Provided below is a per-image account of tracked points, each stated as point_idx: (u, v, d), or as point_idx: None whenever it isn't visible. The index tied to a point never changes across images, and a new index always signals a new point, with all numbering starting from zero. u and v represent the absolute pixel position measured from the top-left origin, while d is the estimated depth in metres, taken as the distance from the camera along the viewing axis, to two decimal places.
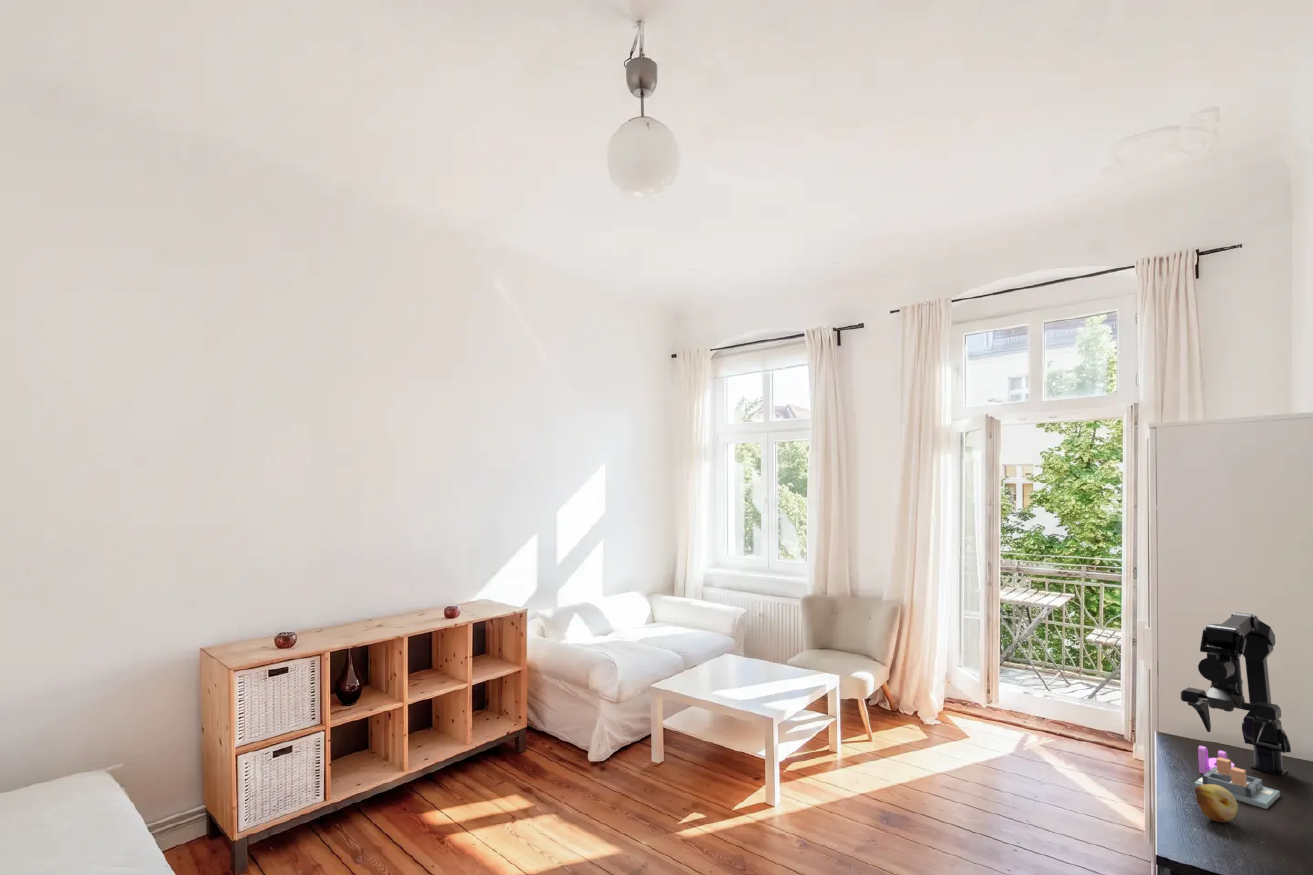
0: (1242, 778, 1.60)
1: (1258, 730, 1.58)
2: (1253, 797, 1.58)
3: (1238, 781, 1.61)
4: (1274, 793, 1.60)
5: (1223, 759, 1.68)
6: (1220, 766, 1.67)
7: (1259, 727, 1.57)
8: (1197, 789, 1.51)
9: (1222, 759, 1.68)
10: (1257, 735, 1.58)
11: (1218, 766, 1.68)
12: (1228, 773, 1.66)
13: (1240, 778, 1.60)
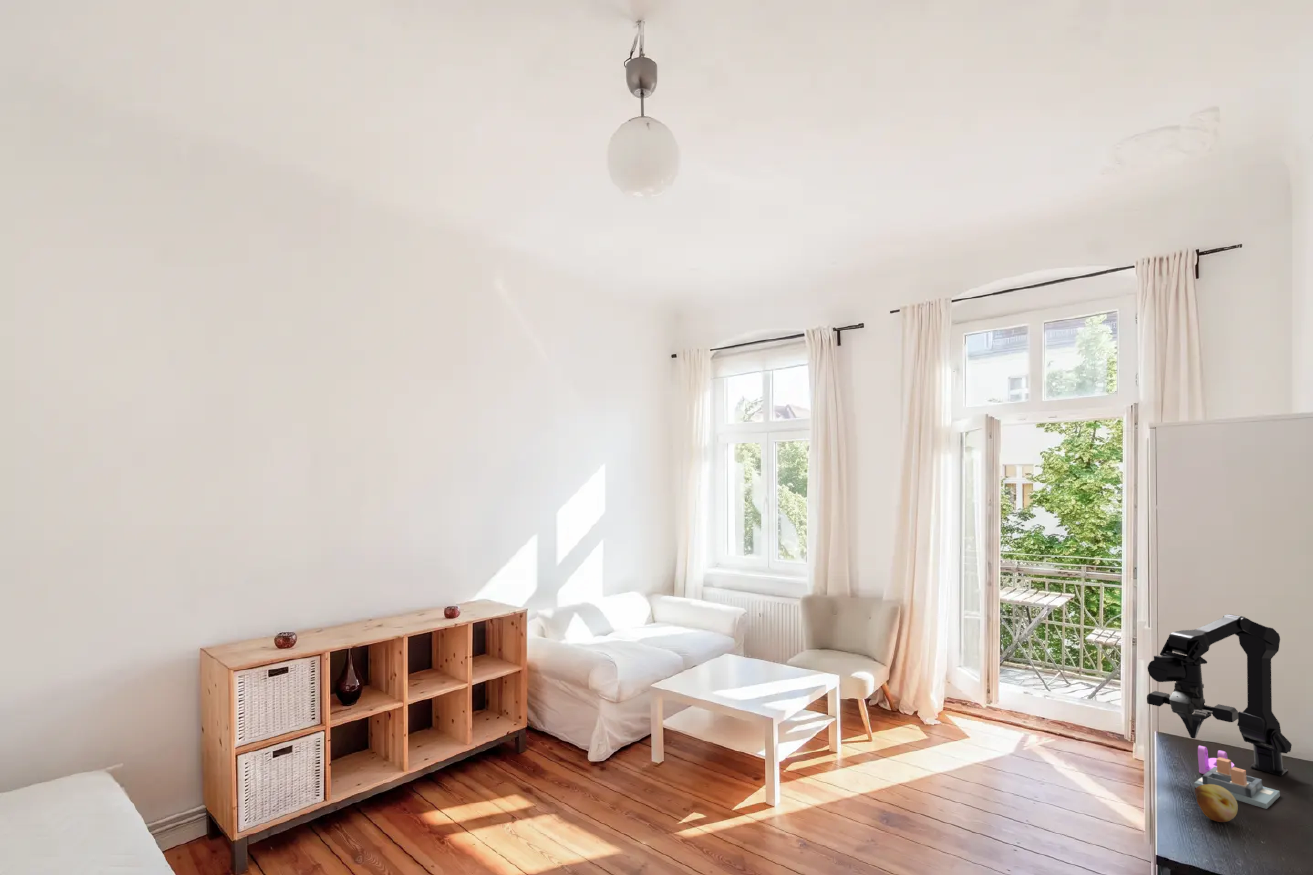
0: (1242, 778, 1.60)
1: (1196, 726, 1.72)
2: (1253, 797, 1.58)
3: (1238, 781, 1.61)
4: (1274, 793, 1.60)
5: (1223, 759, 1.68)
6: (1220, 766, 1.67)
7: (1197, 723, 1.72)
8: (1197, 789, 1.51)
9: (1222, 759, 1.68)
10: (1195, 731, 1.72)
11: (1218, 766, 1.68)
12: (1228, 773, 1.66)
13: (1240, 778, 1.60)
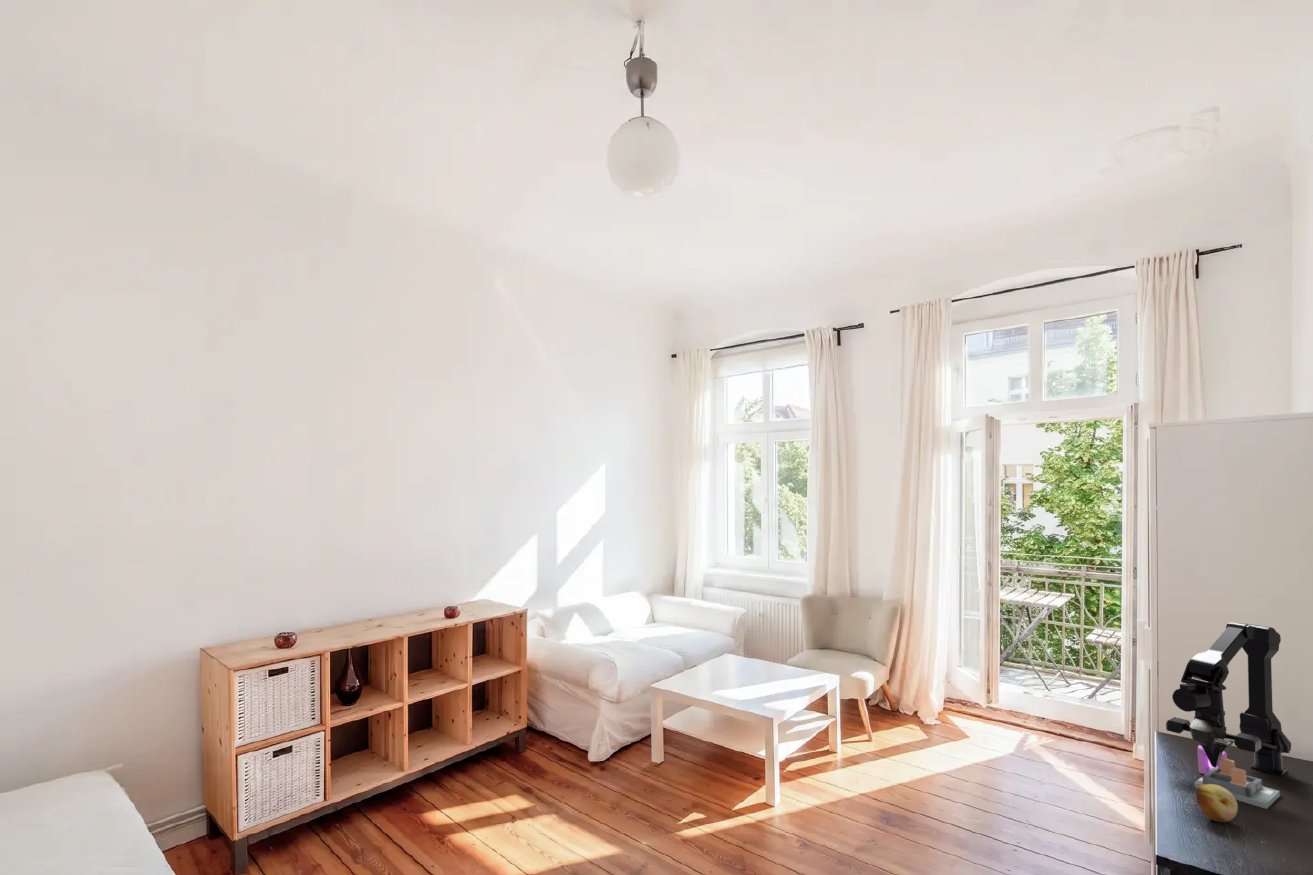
0: (1242, 778, 1.60)
1: (1217, 755, 1.68)
2: (1253, 797, 1.58)
3: (1238, 781, 1.61)
4: (1274, 793, 1.60)
5: (1227, 760, 1.67)
6: (1224, 767, 1.67)
7: (1218, 752, 1.68)
8: (1197, 789, 1.51)
9: (1226, 760, 1.67)
10: (1216, 759, 1.68)
11: (1222, 767, 1.67)
12: None
13: (1240, 778, 1.60)
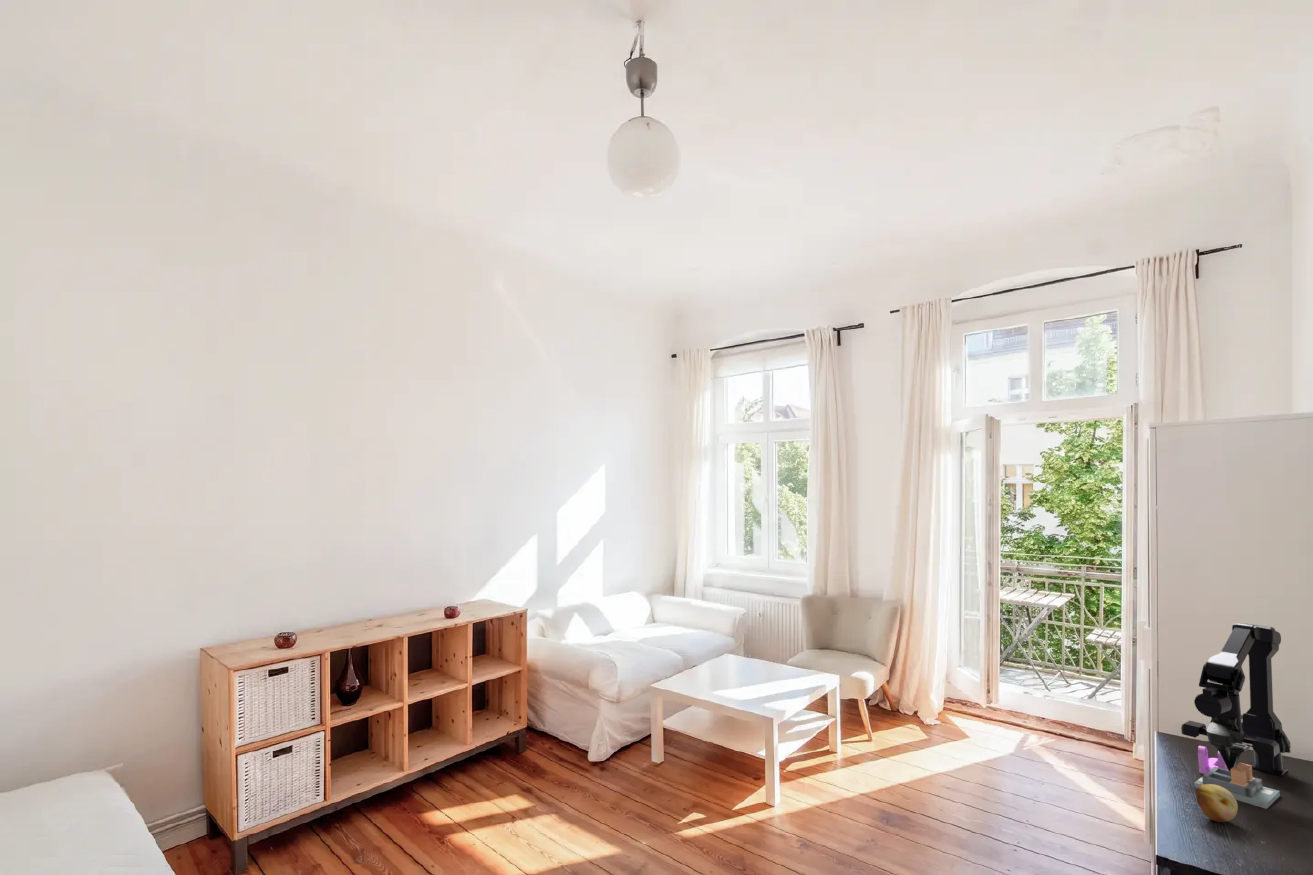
0: (1242, 778, 1.60)
1: (1234, 759, 1.65)
2: (1253, 797, 1.58)
3: (1238, 781, 1.61)
4: (1274, 793, 1.60)
5: (1244, 764, 1.64)
6: None
7: (1235, 756, 1.65)
8: (1197, 789, 1.51)
9: (1243, 764, 1.64)
10: (1233, 764, 1.66)
11: None
12: (1249, 779, 1.63)
13: (1240, 778, 1.60)
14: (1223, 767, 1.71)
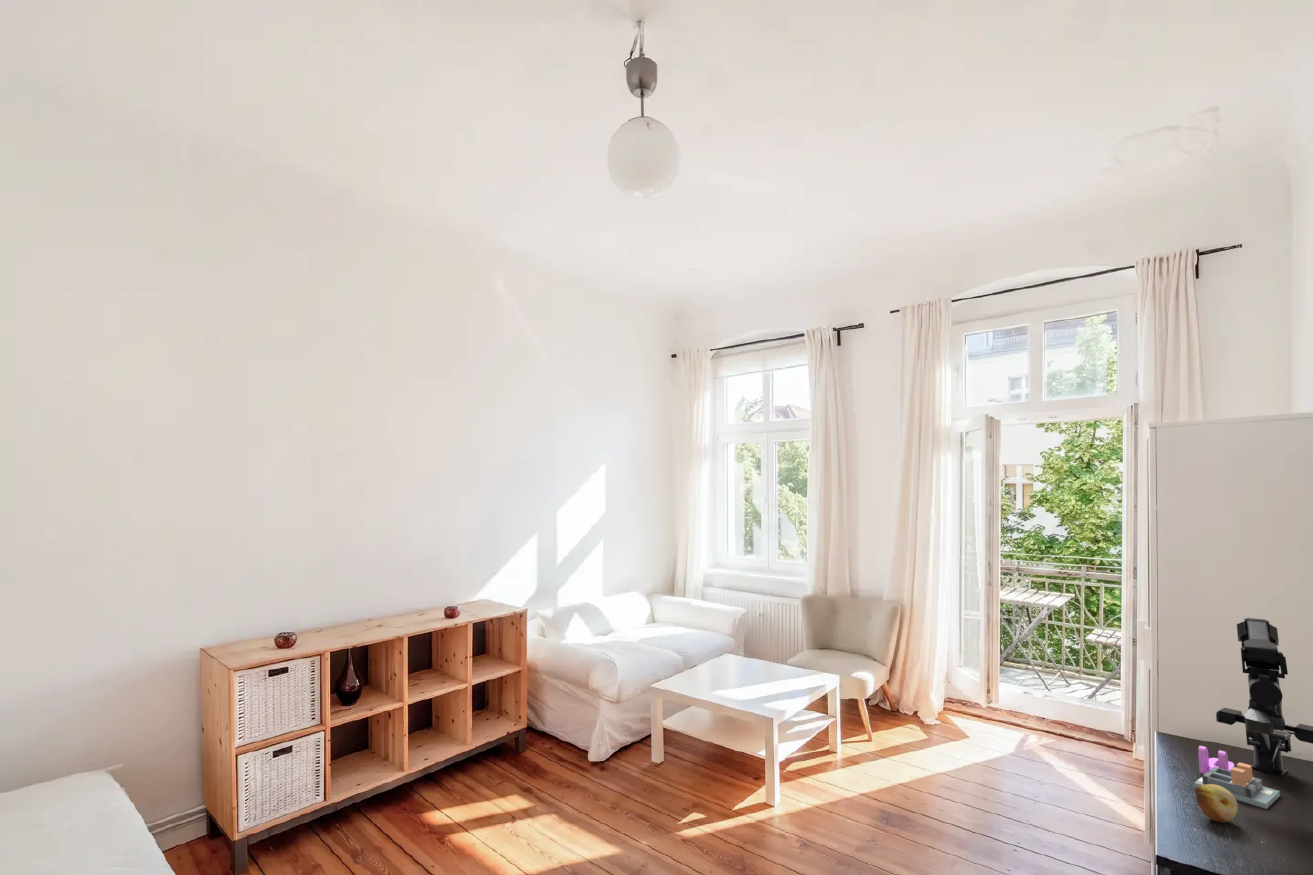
0: (1242, 778, 1.60)
1: (1274, 748, 1.55)
2: (1253, 797, 1.58)
3: (1238, 781, 1.61)
4: (1274, 793, 1.60)
5: (1244, 764, 1.64)
6: None
7: (1275, 745, 1.55)
8: (1197, 789, 1.51)
9: (1243, 764, 1.64)
10: (1273, 753, 1.56)
11: None
12: (1249, 779, 1.63)
13: (1240, 778, 1.60)
14: (1224, 767, 1.71)
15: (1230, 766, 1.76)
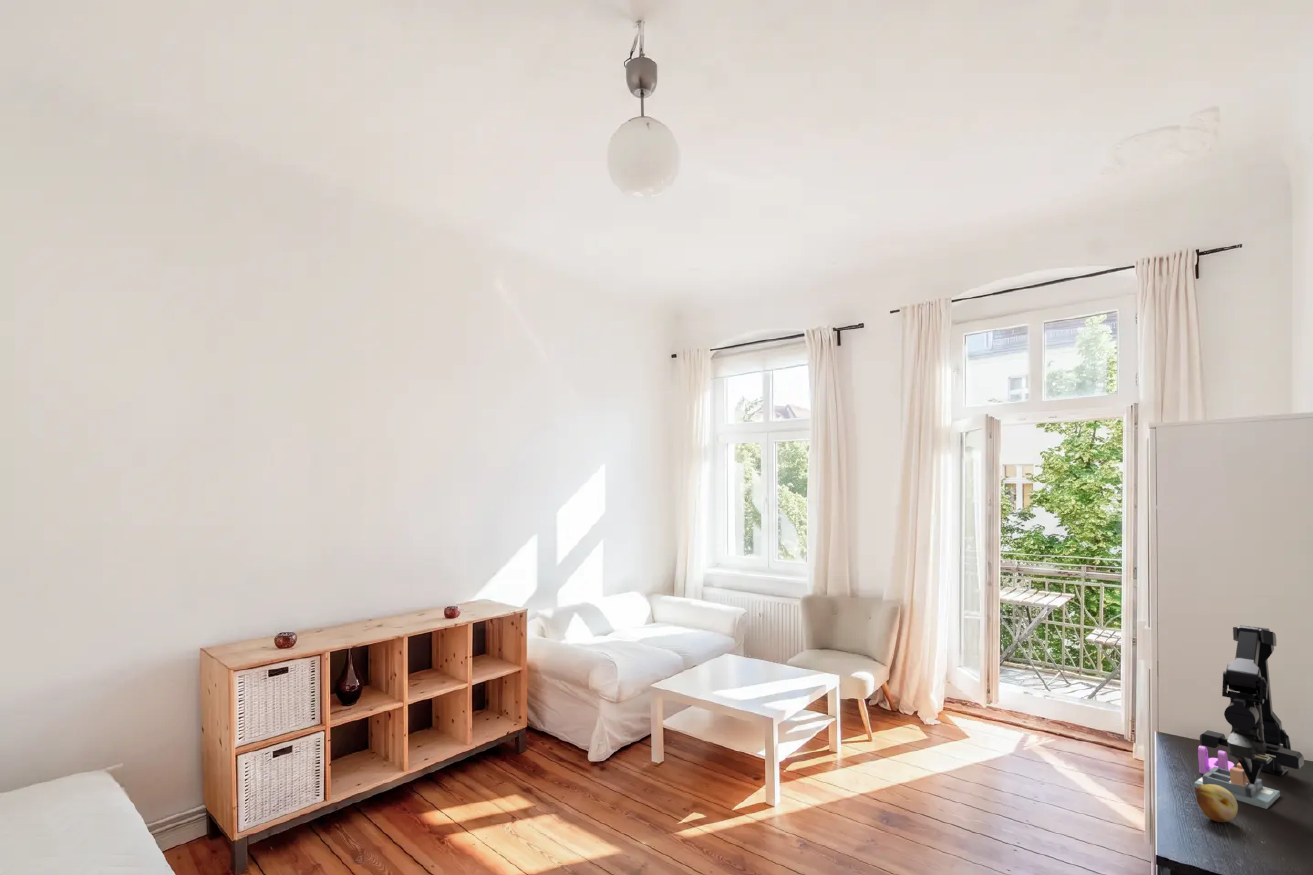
0: (1241, 778, 1.60)
1: (1256, 771, 1.58)
2: (1253, 797, 1.58)
3: (1237, 781, 1.61)
4: (1274, 793, 1.60)
5: None
6: None
7: (1257, 768, 1.58)
8: (1197, 789, 1.51)
9: None
10: (1255, 776, 1.58)
11: None
12: None
13: (1239, 778, 1.60)
14: (1223, 767, 1.71)
15: (1230, 766, 1.76)
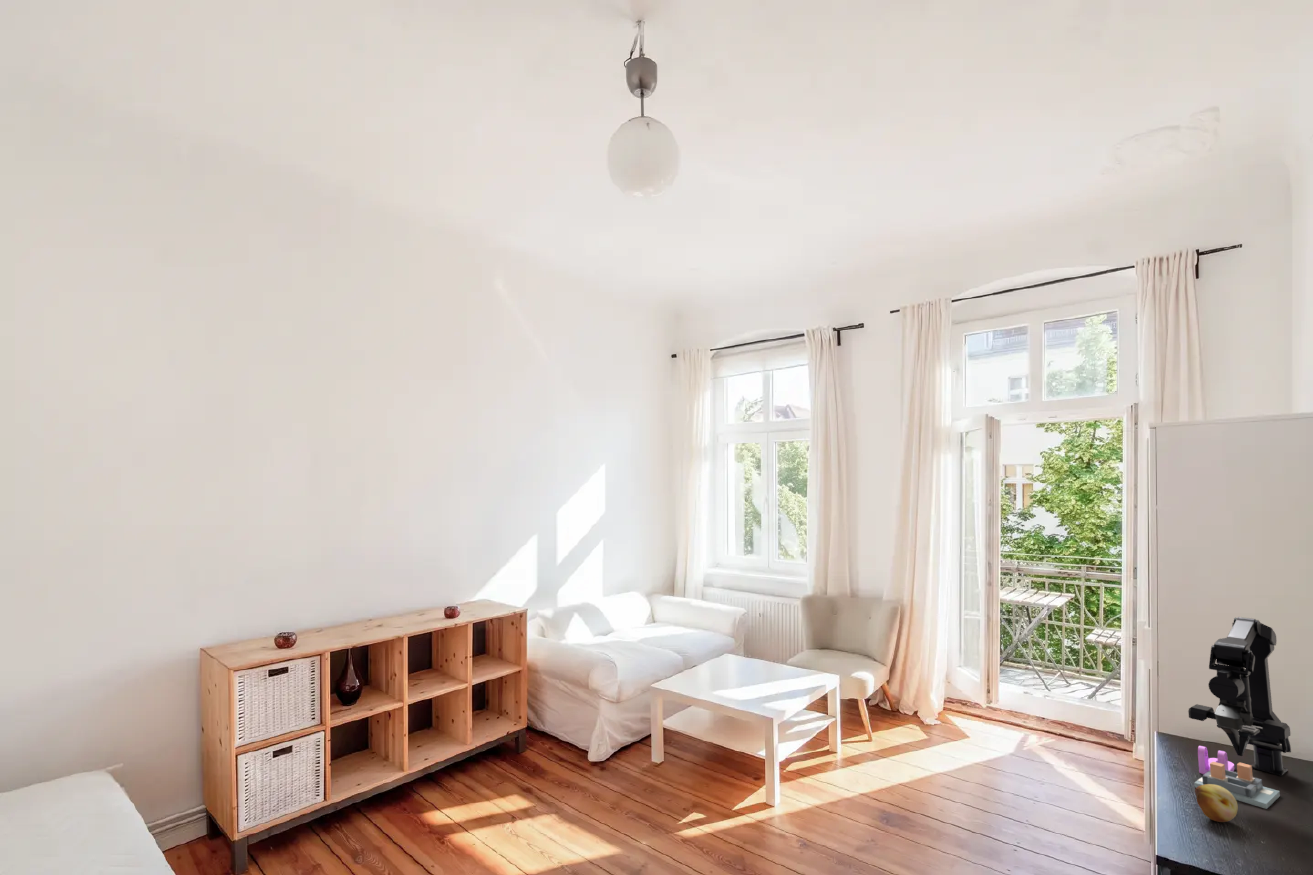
0: (1221, 772, 1.63)
1: (1243, 743, 1.60)
2: (1253, 797, 1.58)
3: (1217, 775, 1.64)
4: (1274, 793, 1.60)
5: (1244, 764, 1.64)
6: (1241, 772, 1.64)
7: (1244, 740, 1.60)
8: (1197, 789, 1.51)
9: (1243, 764, 1.64)
10: (1242, 748, 1.60)
11: (1239, 772, 1.64)
12: (1249, 779, 1.63)
13: (1219, 772, 1.64)
14: None
15: (1230, 766, 1.76)
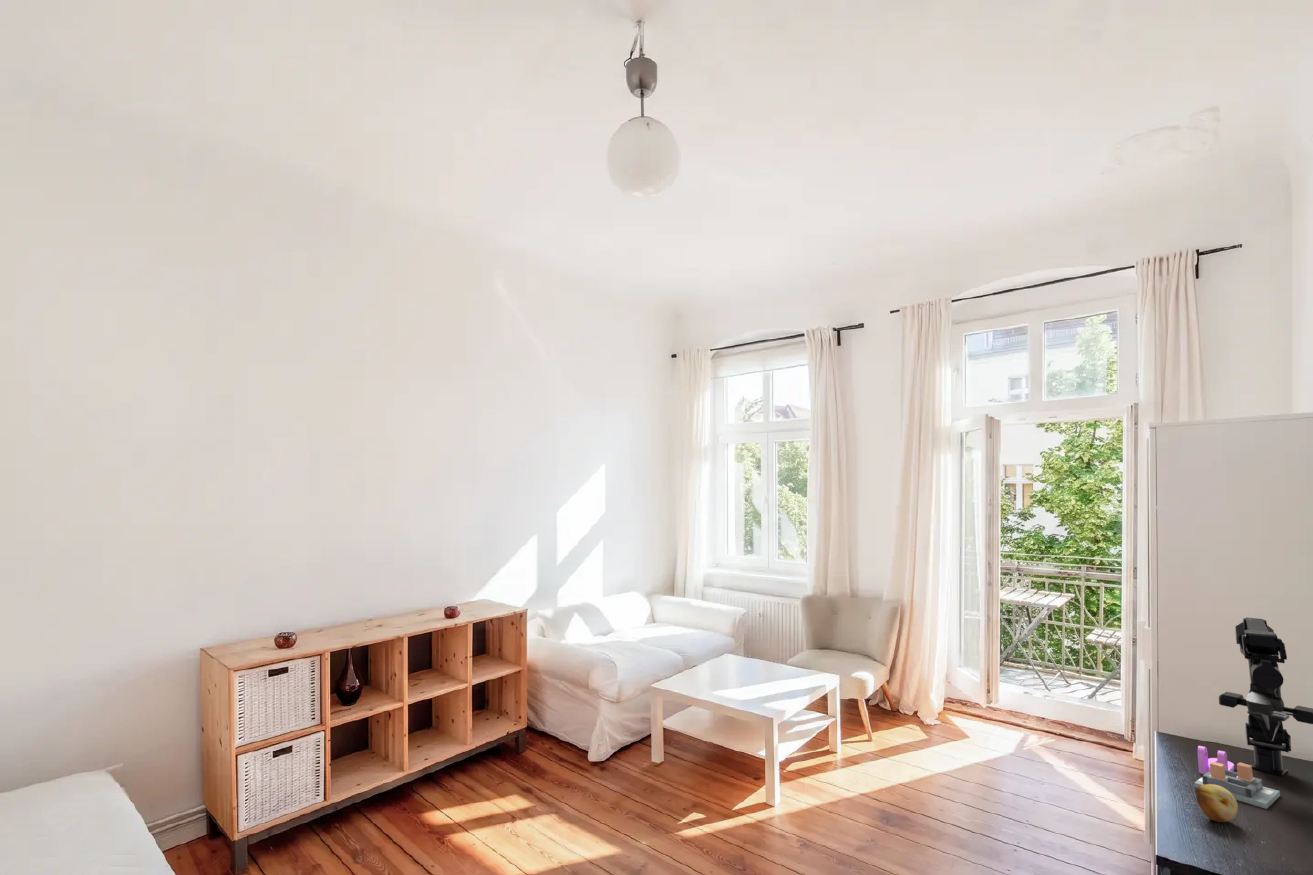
0: (1221, 772, 1.63)
1: (1274, 728, 1.65)
2: (1253, 797, 1.58)
3: (1217, 775, 1.64)
4: (1274, 793, 1.60)
5: (1244, 764, 1.64)
6: (1241, 772, 1.64)
7: (1275, 726, 1.65)
8: (1197, 789, 1.51)
9: (1243, 764, 1.64)
10: (1273, 733, 1.66)
11: (1239, 772, 1.64)
12: (1249, 779, 1.63)
13: (1219, 772, 1.64)
14: None
15: (1230, 766, 1.76)
